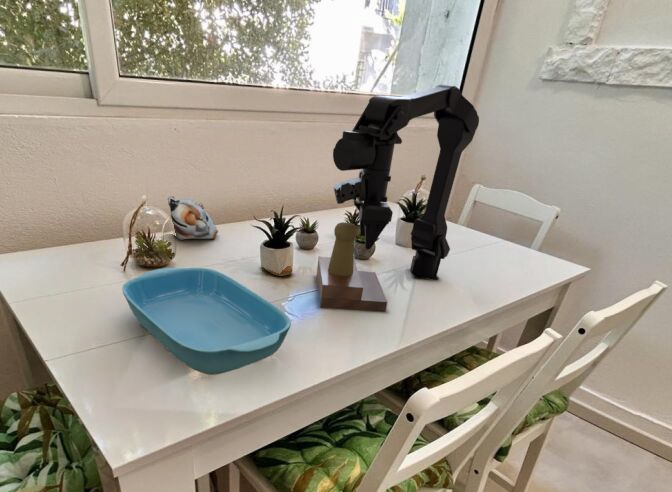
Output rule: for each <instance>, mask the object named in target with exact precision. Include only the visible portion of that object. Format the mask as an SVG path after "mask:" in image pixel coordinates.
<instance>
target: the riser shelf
mask: <svg viewBox="0 0 672 492" xmlns="http://www.w3.org/2000/svg"><path fill="white" fill-rule="evenodd" d="M330 259H331V256H318V257H317V267H316V276H315V277H316V286H317V294H318V301H319V307H320V308H321V309H335V310H348V311H349V310H351V311H364V312H365V311H366V312H381V313H386V312H387V311H386V310H387V306H388V299H387V298H386V295H385V293H384V290H383V287H382V285H381V283H380V281H379V278H378V275H377V273H376V272H375V271H364V270H358V268H357V264H356V262H355V259H354V260H353V274H352V275H349V276H338V275H334V274H332V273H330V272H329V271H328V267H329V263H330Z"/></svg>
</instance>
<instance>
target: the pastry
mask: <svg viewBox="0 0 672 492" xmlns="http://www.w3.org/2000/svg"><path fill="white" fill-rule="evenodd" d="M291 266H292V265H291ZM291 266H287V267H286V268H285V269H284V270H282V272H281V273H280V274H279V273H276V272H273V271H271V270H268V269H265V268H264V270H265V271H267V272H269V273H270V274H272V275H274V276H279V277H284V276H290V275H291V274H292V273H293V267H292V268H291Z"/></svg>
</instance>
